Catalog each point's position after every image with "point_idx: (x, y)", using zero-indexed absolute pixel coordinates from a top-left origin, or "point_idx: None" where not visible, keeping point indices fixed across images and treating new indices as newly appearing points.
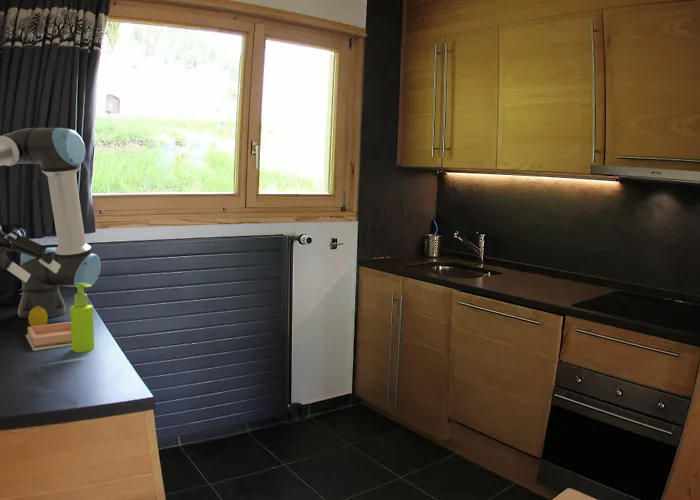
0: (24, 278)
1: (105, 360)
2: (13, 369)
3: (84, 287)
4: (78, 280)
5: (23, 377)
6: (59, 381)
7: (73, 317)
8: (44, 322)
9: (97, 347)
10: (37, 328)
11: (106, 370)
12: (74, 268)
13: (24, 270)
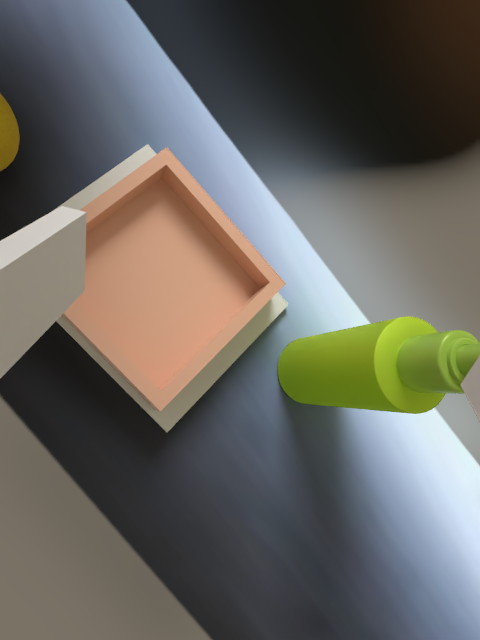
0: (68, 292)
1: (406, 432)
2: (222, 610)
3: None
4: None
5: None
6: (404, 632)
7: (381, 410)
8: (17, 150)
9: (323, 326)
10: None
11: (451, 505)
12: None
13: (47, 243)
